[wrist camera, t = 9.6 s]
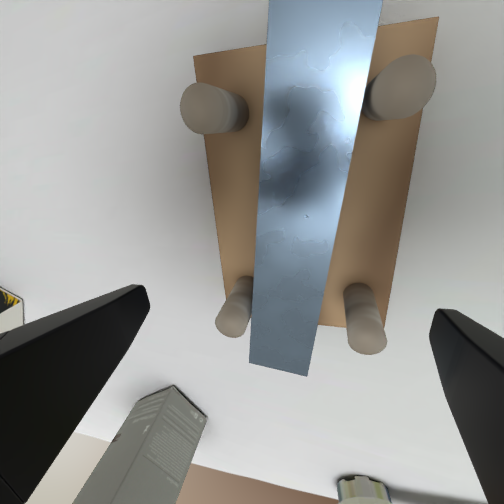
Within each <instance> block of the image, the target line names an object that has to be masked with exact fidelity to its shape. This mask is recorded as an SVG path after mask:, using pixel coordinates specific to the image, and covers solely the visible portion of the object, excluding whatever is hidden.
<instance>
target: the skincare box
mask: <svg viewBox="0 0 504 504" xmlns="http://www.w3.org/2000/svg"><path fill="white" fill-rule="evenodd" d="M206 421H207V419H206V418H205V417H204V416H203V415H202V414H201V413H200V412H199V411H198V410H197V409H196V408H195V407H194V406H192V405H191V404H190V403H189V402H188V401H187V400H186V399H185V398H184V397H183V396H182V395H181V394H180V393H179V392H178V390H177V389H176V388H175V387H174V386H172V387H170V388H169V389H167V390H164V391H162V392H159V393H156V394H153V395H151V396H149V397H146V398H144V399H142V400H140V401H138V402H137V403H136V404H135V406H134V407H133V409H132V410H131V412H130V414H129V415H128V417H127V418H126V420H125V422H124V423H123V425H122V426H121V428H120V429H119V431H118V433H117V434H116V436H115V437H114V439H113V440H112V442H111V444H110V445H109V447H108V448H107V450H106V451H105V453H104V455H103V456H102V458H101V459H100V461H99V462H98V464H97V466H96V467H95V469H94V470H93V472H92V473H91V475H90V477H89V478H88V480H87V481H86V483H85V484H84V486H83V488H82V489H81V491H80V492H79V494H78V495H77V497H76V499H75V500H74V502H73V503H72V504H175V503H176V501H177V498H178V496H179V493H180V490H181V488H182V485H183V482H184V480H185V477H186V474H187V472H188V469H189V466H190V464H191V461H192V458H193V456H194V453H195V450H196V448H197V445H198V442H199V440H200V437H201V434H202V432H203V429H204V427H205V424H206Z"/></svg>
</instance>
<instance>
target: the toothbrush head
mask: <svg viewBox="0 0 504 504" xmlns="http://www.w3.org/2000/svg"><path fill="white" fill-rule="evenodd" d="M354 477H355V480H351V481H346V480H345V479H342V480H341V481H340V482H338V483H337V492H338V498H339V503H338V504H392V502H391V498H390V495H389V492H388V488H387V487H386V486H385V485H384V484H382V483H381V482H374V481H371V480H369V478H368V476H354Z"/></svg>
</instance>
